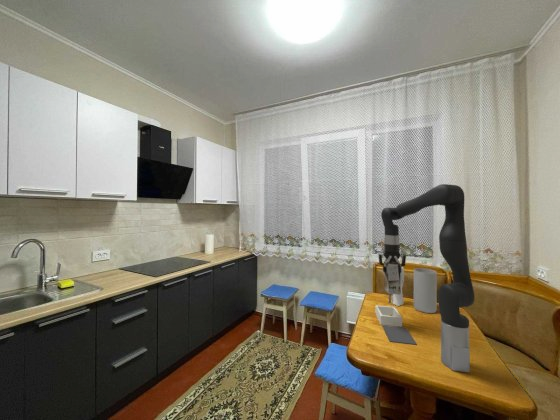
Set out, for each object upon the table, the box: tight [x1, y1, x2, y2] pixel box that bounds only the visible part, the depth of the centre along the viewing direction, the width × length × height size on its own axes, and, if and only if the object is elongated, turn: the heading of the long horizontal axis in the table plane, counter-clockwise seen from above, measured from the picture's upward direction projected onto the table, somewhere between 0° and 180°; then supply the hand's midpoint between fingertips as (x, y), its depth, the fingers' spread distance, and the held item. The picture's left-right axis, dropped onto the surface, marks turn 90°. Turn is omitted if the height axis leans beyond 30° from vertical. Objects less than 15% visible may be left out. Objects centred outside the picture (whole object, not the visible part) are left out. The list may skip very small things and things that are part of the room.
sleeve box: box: [374, 304, 403, 328], centre depth 131 cm, size 14×11×5 cm
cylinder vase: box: [413, 267, 438, 314], centre depth 145 cm, size 12×12×25 cm
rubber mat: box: [381, 325, 418, 346], centre depth 115 cm, size 15×12×1 cm
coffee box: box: [383, 261, 401, 295], centre depth 125 cm, size 9×6×16 cm
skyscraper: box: [388, 261, 405, 307], centre depth 153 cm, size 8×8×28 cm
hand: (392, 273), depth 125 cm, fingers closed on coffee box, 6 cm apart
